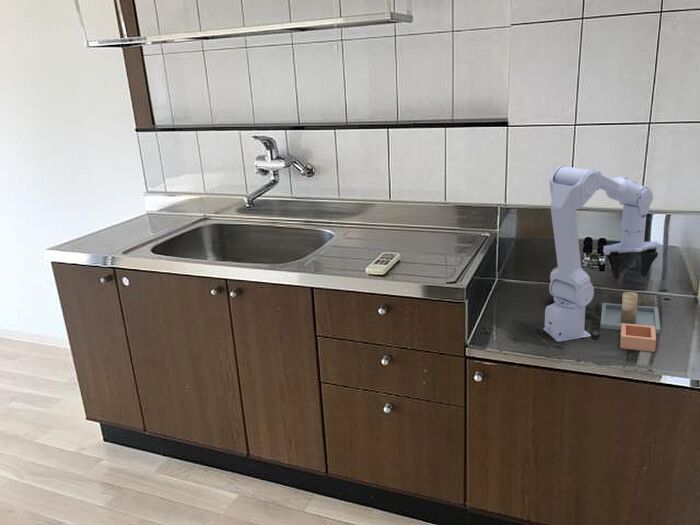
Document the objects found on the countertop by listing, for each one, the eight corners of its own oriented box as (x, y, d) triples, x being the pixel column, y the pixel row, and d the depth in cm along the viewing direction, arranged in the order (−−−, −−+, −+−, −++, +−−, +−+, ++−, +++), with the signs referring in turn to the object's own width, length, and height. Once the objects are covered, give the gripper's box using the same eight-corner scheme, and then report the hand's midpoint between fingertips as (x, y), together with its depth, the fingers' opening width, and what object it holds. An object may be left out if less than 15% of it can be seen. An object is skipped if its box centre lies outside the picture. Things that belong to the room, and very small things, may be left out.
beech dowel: (627, 325, 156) (629, 298, 153) (617, 320, 159) (619, 293, 156) (638, 323, 157) (641, 295, 154) (629, 317, 160) (631, 290, 157)
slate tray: (600, 330, 156) (600, 323, 156) (602, 308, 168) (602, 302, 167) (659, 336, 150) (660, 329, 150) (657, 313, 162) (657, 307, 162)
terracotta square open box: (620, 350, 146) (621, 336, 144) (620, 336, 152) (621, 323, 151) (654, 354, 142) (656, 340, 141) (653, 339, 149) (654, 326, 148)
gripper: (612, 235, 155) (609, 283, 159) (668, 231, 155) (663, 279, 159) (601, 228, 162) (598, 274, 166) (654, 223, 161) (650, 270, 166)
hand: (629, 276), depth 163 cm, fingers open, 7 cm apart
